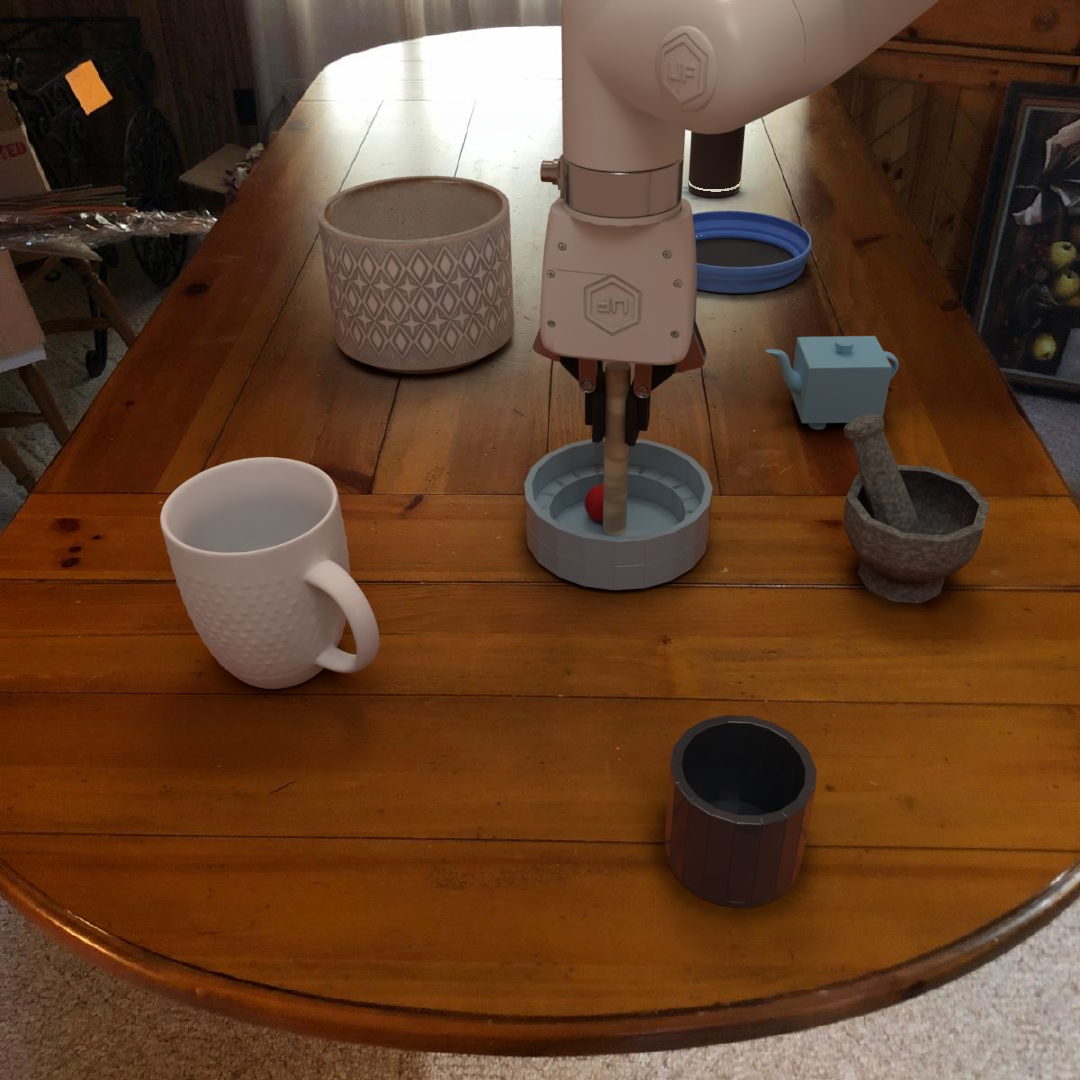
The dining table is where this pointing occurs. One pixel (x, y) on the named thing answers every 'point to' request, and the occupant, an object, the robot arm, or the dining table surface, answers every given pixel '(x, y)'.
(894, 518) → the mortar and pestle
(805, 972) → the dining table surface
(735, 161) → the wine bottle
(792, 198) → the dining table surface
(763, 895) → the holder
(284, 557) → the mug
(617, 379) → the stick
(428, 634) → the dining table surface
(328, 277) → the planter
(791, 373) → the teapot
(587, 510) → the berry
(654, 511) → the mixing bowl
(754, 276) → the bowl
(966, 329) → the dining table surface
